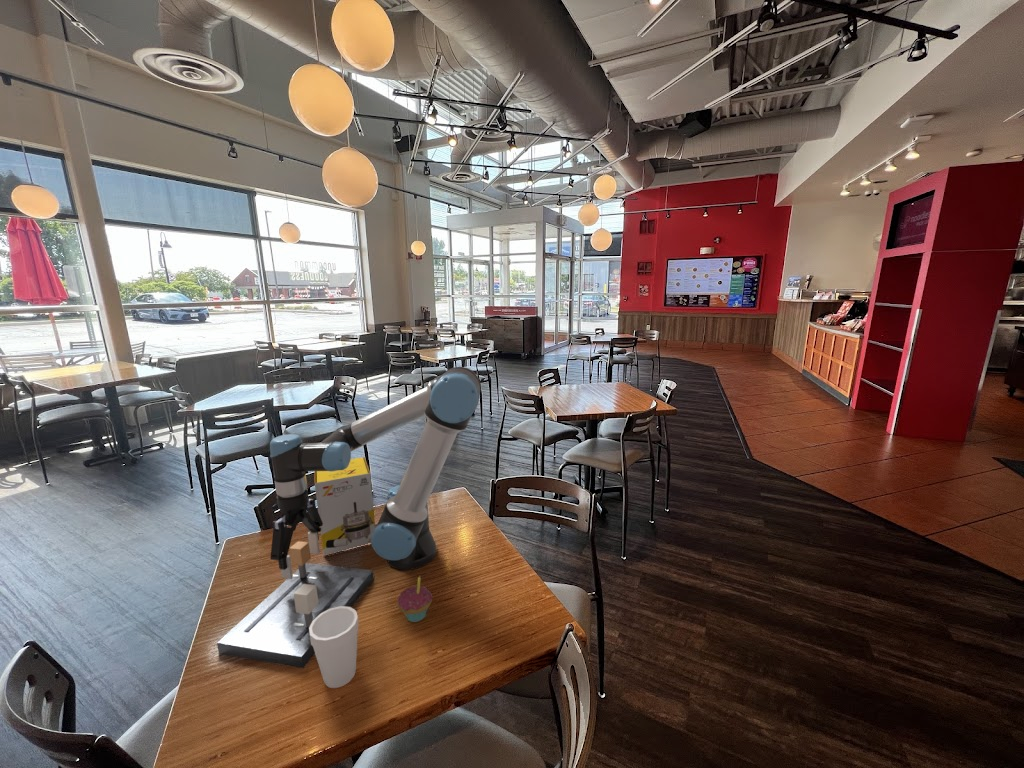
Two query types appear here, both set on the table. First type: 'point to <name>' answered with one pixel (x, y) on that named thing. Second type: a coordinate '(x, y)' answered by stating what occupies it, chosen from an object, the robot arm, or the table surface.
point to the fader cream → (306, 601)
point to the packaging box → (345, 506)
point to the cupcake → (415, 602)
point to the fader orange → (300, 556)
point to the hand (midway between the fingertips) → (301, 564)
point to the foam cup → (335, 644)
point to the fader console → (293, 616)
